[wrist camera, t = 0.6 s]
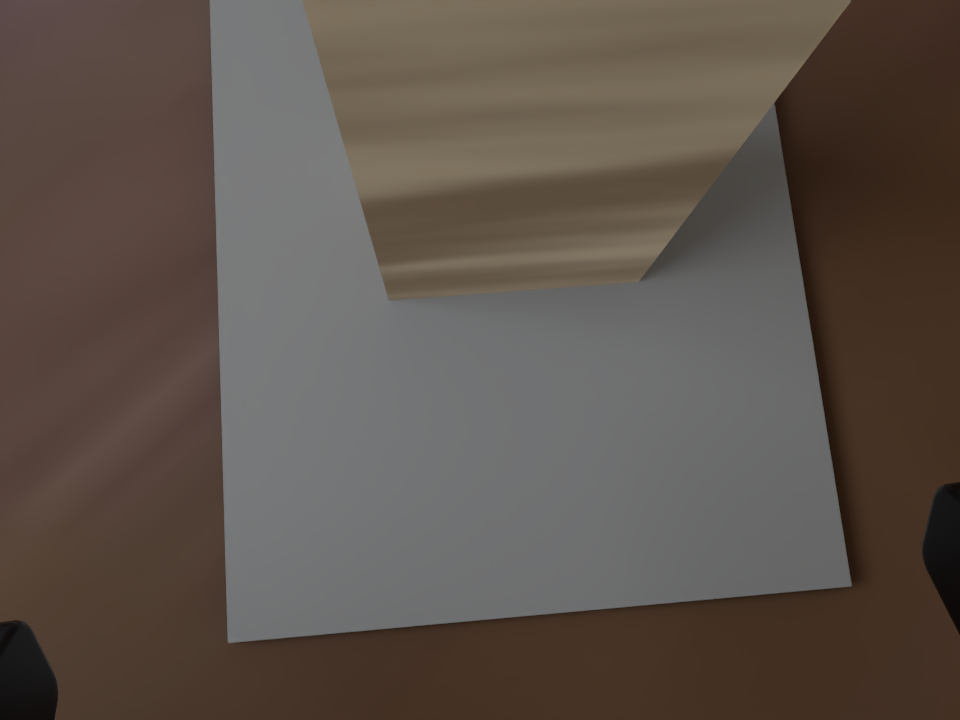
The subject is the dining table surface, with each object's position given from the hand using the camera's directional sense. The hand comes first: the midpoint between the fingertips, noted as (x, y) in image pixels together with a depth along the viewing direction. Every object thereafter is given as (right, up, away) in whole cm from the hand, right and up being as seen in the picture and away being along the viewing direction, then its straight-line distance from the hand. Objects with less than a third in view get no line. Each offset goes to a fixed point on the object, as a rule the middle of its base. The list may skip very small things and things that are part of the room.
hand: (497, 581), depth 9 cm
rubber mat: (0, +9, +13) cm, 16 cm away
